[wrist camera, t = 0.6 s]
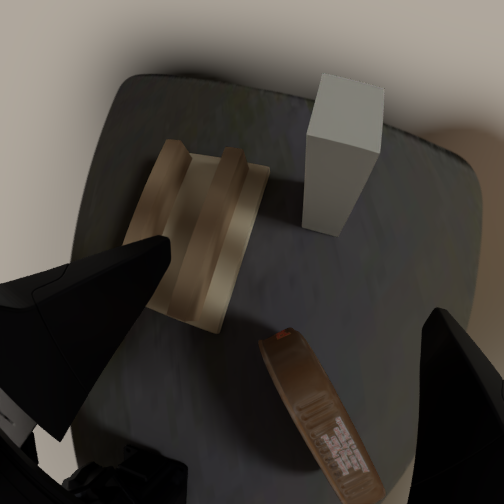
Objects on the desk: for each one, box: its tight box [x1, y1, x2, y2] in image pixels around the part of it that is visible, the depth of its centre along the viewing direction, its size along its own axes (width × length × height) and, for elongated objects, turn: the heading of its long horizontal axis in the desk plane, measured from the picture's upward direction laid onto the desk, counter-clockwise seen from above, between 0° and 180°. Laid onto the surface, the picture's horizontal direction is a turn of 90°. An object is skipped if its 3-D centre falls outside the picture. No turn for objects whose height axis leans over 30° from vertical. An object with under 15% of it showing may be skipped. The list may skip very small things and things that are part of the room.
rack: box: [122, 139, 270, 334], centre depth 22 cm, size 14×10×4 cm
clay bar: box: [302, 73, 384, 237], centre depth 16 cm, size 4×3×12 cm
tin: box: [258, 328, 386, 504], centre depth 15 cm, size 15×3×8 cm, turn 27°
